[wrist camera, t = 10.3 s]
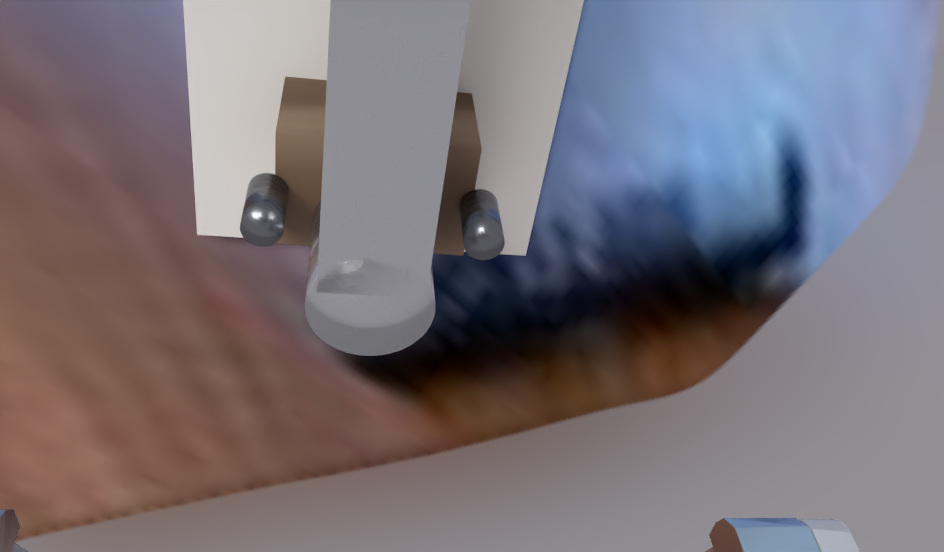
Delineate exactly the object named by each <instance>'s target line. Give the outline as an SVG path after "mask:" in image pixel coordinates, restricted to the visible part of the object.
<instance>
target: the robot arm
mask: <svg viewBox="0 0 944 552" xmlns="http://www.w3.org/2000/svg"><path fill="white" fill-rule="evenodd" d="M19 529H20V524H19V522H18V519H17V516H16V513H15V511H14V509H0V552H28V551H27V550H25V549H24V548H22V547H21V546H19V545H18V544H16V543H15V541H16V538H17V535H18V532H19ZM709 536H710V539H711V542H712V545H713V547H712V548H710V549H709V550H707V551H706V552H860V551H859V549H858V547H857V545H856V543H855V541H854V539H853V537H852V535H851V533H850V531H849V529H848V528H847V527H846V526H845V525H844V524H843V523H842V522H841V521H839V520H834V519H796V518H723V519H722V520H720V521H718V522H716V524H715V525H714V527H713V529H712V531H711V533H710V535H709Z"/></svg>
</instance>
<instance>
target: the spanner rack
mask: <svg viewBox="0 0 944 552" xmlns="http://www.w3.org/2000/svg"><path fill="white" fill-rule="evenodd" d="M330 2H331V0H183V7H184V23H185V40H186V56H187V73H188V89H189V106H190V123H191V139H192V156H193V172H194V189H195V206H196V222H197V235H209V236H225V237H241V238H245V239H246V240H247V241H248V242H250V243H251V244H254V245H257V246H270V245H273V244H290V245H306V246H311V236H312V225H313V216H314V212H315V208H316V206H317V204H318V202H319V201H320V199H321V190H322V169H323V148H324V127H325V106H326V86H327V65H328V44H329V23H330ZM583 3H584V0H471V2H470V8H469V15H468V22H467V29H466V35H465V42H464V49H463V55H462V62H461V69H460V76H459V82H458V89H457V96H456V102H455V109H454V116H453V123H452V129H451V136H450V143H449V150H448V156H447V163H446V170H445V176H444V183H443V190H442V197H441V203H440V210H439V217H438V223H437V230H436V237H435V244H434V250H433V254H449V255H463V254H464V252H467V254H468V255H469V256H471V257H472V258H475V259H478V260H488V259H492V258H494V257H496V256H497V255H499V254H507V255H522V256H526V253H527V248H528V244H529V239H530V235H531V231H532V226H533V222H534V218H535V213H536V209H537V204H538V200H539V196H540V191H541V187H542V183H543V178H544V174H545V169H546V165H547V161H548V156H549V152H550V148H551V143H552V139H553V134H554V130H555V126H556V121H557V117H558V113H559V108H560V104H561V99H562V95H563V91H564V86H565V82H566V78H567V73H568V69H569V64H570V60H571V56H572V51H573V47H574V43H575V38H576V34H577V29H578V25H579V21H580V16H581V12H582V8H583Z"/></svg>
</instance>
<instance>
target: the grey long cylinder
mask: <svg viewBox="0 0 944 552" xmlns="http://www.w3.org/2000/svg"><path fill="white" fill-rule="evenodd" d="M470 2H471V0H331V2H330V23H329V44H328V65H327V86H326V106H325V127H324V148H323V169H322V190H321V199H320V201H319V202H318V204H317V206H316V208H315V212H314V216H313V225H312V236H311V246H310V257H309V267H308V278H307V288H306V299H305V313H306V318H307V320H308V323H309V325H310V327H311V328H312V330H313V331H314V332H315V334H316V335H317V336H318V337H319V338H320V339H322V340H323V341H324V342H326V343H327V344H328V345H330V346H332V347H334V348H336V349H338V350H341V351H344V352H347V353H351V354H356V355H364V356H376V355H384V354H390V353H393V352H397V351H399V350H402V349H404V348H406V347H408V346H410V345H412V344H413V343H415V342H416V341H417V340H419V339H420V338H421V337H422V336H423V335H424V334H425V333H426V331H427V330H428V329H429V327H430V325H431V323H432V321H433V318H434V314H435V295H434V282H433V269H432V257H433V250H434V244H435V237H436V230H437V223H438V217H439V210H440V203H441V197H442V190H443V183H444V176H445V170H446V163H447V156H448V150H449V143H450V136H451V129H452V123H453V116H454V109H455V102H456V96H457V89H458V82H459V76H460V69H461V62H462V55H463V49H464V42H465V35H466V29H467V22H468V15H469V8H470Z"/></svg>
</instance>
